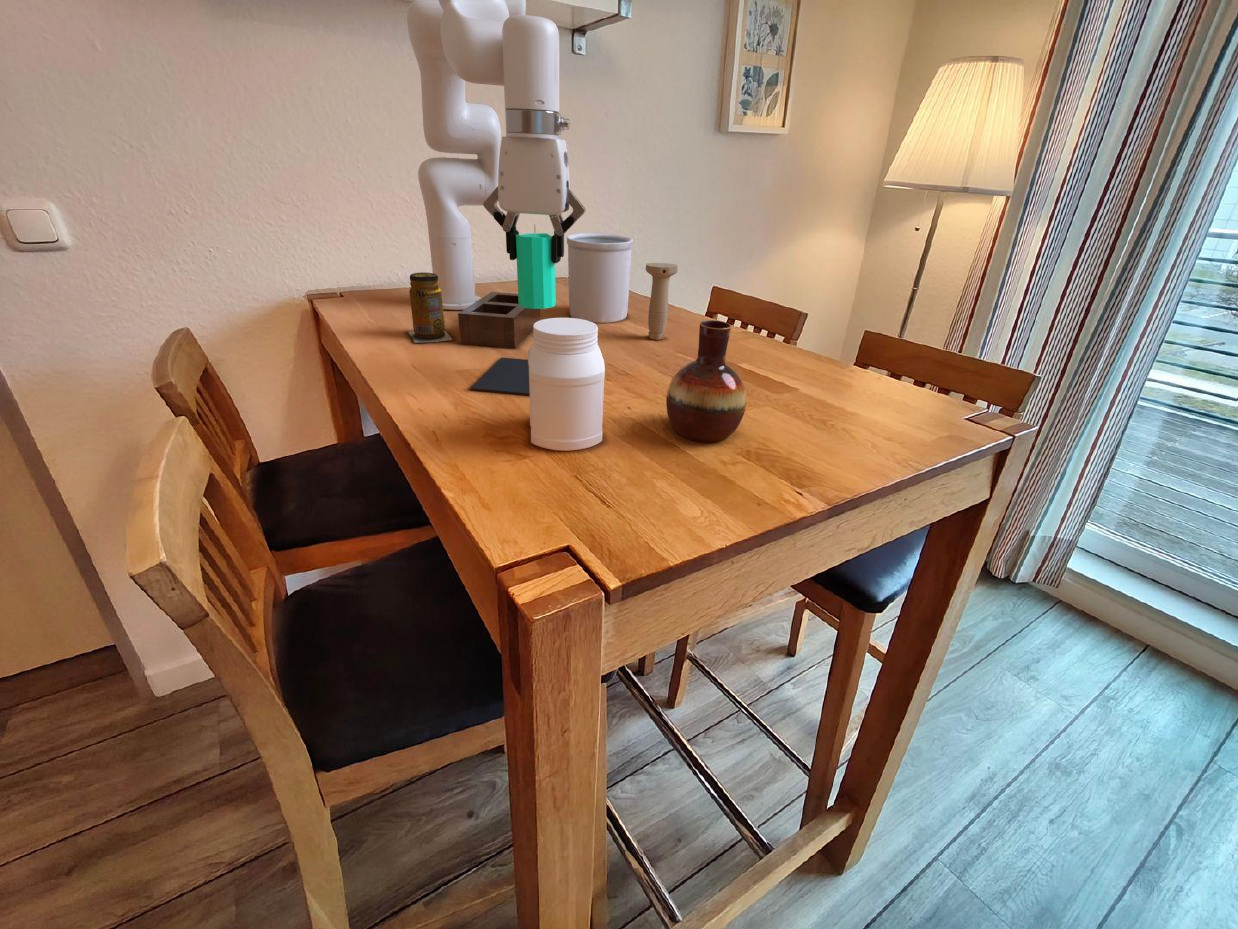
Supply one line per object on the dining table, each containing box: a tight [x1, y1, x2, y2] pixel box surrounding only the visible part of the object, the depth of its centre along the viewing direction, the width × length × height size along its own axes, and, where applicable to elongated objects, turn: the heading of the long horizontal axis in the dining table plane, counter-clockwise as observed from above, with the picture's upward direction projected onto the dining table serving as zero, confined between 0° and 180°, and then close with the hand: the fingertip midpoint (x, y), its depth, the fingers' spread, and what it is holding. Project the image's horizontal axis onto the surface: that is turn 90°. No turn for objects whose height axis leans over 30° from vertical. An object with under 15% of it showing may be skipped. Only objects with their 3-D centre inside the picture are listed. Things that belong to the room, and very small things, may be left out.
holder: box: [457, 291, 541, 349], centre depth 122 cm, size 11×20×6 cm, turn 173°
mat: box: [470, 357, 530, 397], centre depth 100 cm, size 18×16×1 cm
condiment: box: [407, 272, 453, 344], centre depth 115 cm, size 7×8×12 cm
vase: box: [665, 319, 747, 443], centre depth 80 cm, size 11×11×15 cm
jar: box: [527, 317, 606, 452], centre depth 78 cm, size 12×10×15 cm
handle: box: [645, 262, 679, 341], centre depth 121 cm, size 5×6×15 cm
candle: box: [516, 224, 557, 310], centre depth 91 cm, size 6×6×12 cm
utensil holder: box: [566, 232, 634, 324], centre depth 135 cm, size 15×15×18 cm
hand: (535, 259), depth 91 cm, fingers closed on candle, 6 cm apart
